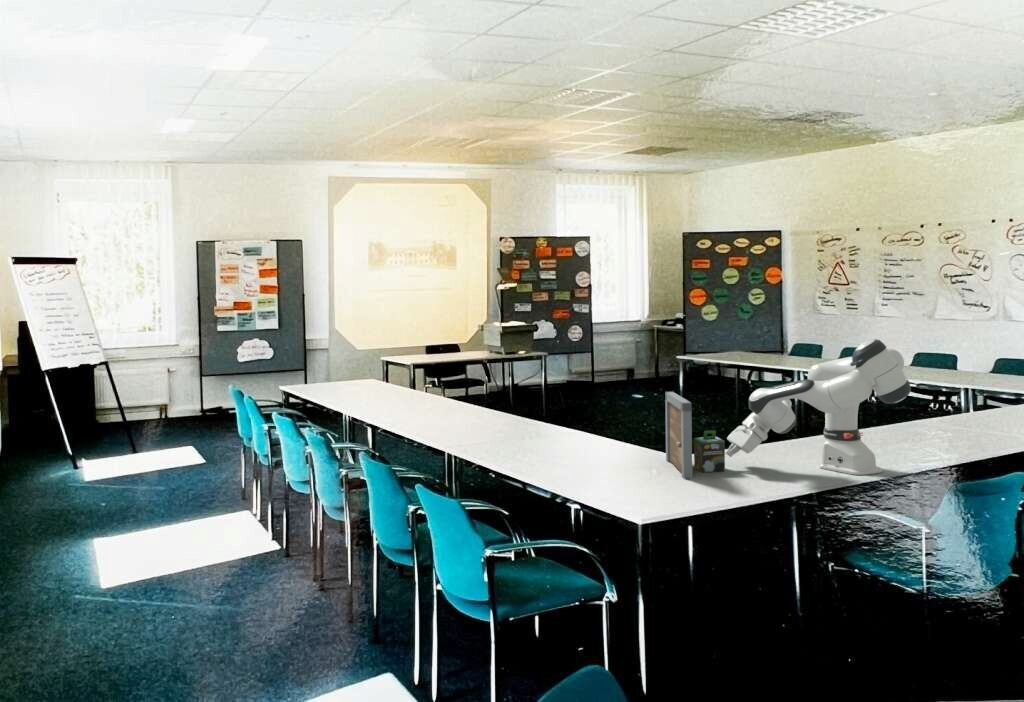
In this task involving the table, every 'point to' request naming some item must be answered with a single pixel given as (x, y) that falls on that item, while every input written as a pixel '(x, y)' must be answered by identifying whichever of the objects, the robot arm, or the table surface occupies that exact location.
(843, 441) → the robot arm
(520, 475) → the table surface
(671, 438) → the door
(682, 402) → the door frame
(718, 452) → the chalk box
